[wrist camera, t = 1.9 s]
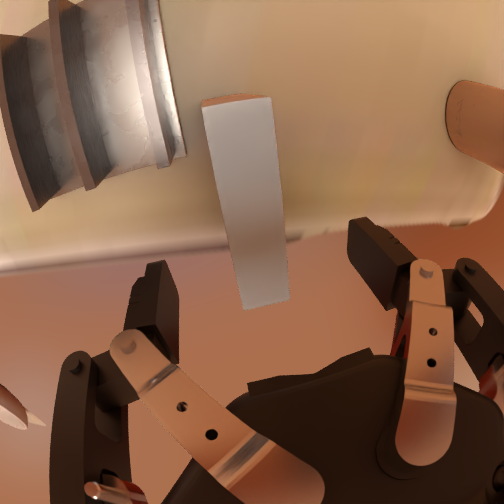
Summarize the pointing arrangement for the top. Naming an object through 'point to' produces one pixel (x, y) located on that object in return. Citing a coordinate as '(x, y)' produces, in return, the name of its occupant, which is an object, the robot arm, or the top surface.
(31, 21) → the top surface
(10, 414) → the serving bowl
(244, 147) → the dish slab
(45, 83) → the dish rack
